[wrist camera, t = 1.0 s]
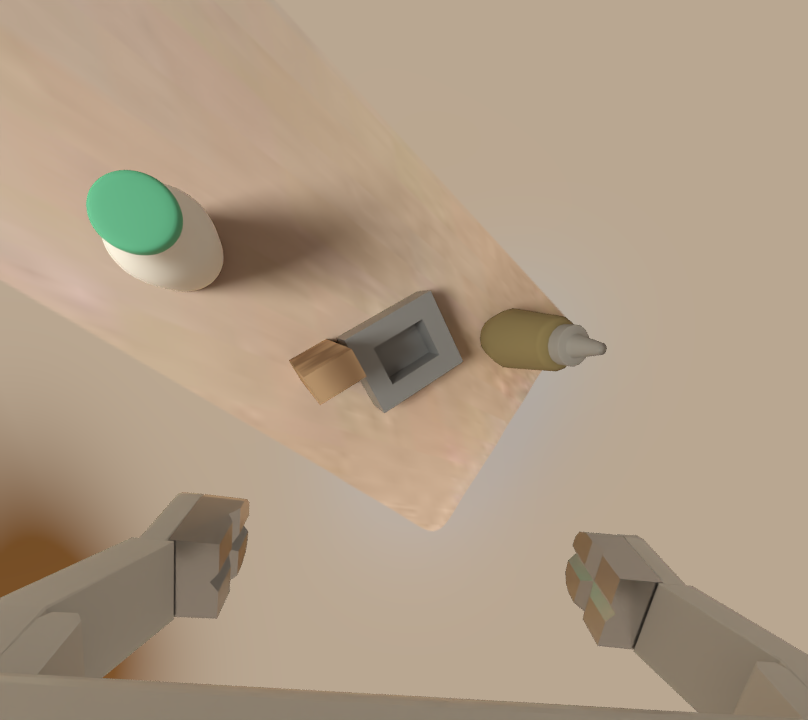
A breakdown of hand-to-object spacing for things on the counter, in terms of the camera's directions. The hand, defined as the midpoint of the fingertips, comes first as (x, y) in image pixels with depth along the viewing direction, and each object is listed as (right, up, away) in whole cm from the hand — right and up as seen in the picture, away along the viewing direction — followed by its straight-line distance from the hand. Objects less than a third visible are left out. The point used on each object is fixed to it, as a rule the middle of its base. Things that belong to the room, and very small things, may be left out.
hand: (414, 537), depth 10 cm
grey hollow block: (-1, +6, +41) cm, 41 cm away
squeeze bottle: (+13, +8, +47) cm, 49 cm away
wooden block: (-11, +4, +37) cm, 39 cm away
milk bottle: (-23, +15, +31) cm, 42 cm away
